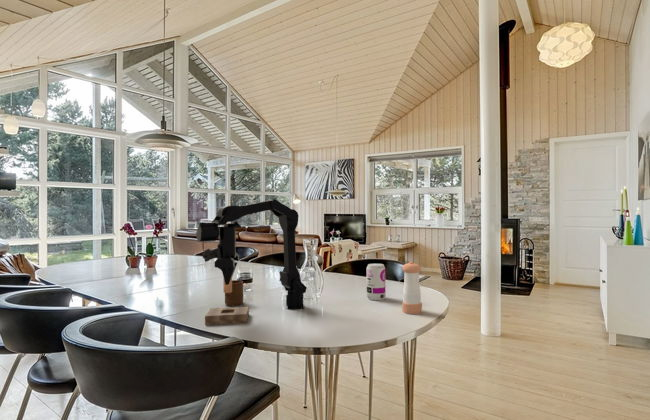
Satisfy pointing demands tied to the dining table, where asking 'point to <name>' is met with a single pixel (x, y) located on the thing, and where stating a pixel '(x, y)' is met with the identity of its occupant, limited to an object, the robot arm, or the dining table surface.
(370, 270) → the supplement can
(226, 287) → the peg
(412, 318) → the dining table surface
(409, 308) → the pepper shaker
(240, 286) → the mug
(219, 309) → the hole block
